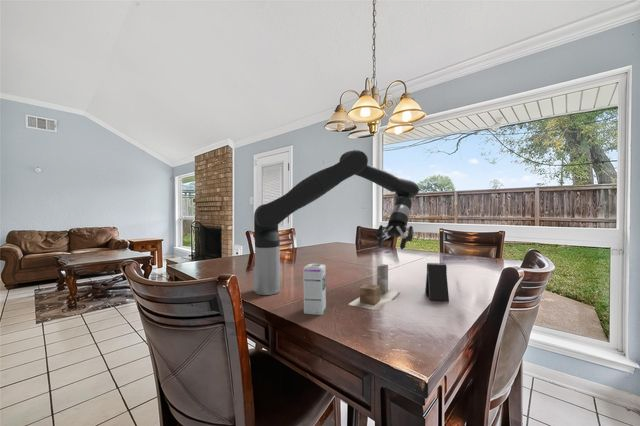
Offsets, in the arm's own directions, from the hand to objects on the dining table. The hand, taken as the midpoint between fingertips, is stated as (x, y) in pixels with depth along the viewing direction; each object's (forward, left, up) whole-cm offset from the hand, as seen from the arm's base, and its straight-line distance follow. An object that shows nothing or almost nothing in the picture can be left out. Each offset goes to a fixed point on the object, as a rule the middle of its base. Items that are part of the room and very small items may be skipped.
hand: (390, 247), depth 106 cm
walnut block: (0, -21, -15) cm, 26 cm away
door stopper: (+17, -1, -17) cm, 24 cm away
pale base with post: (0, -17, -16) cm, 23 cm away
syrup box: (-11, -37, -16) cm, 42 cm away
